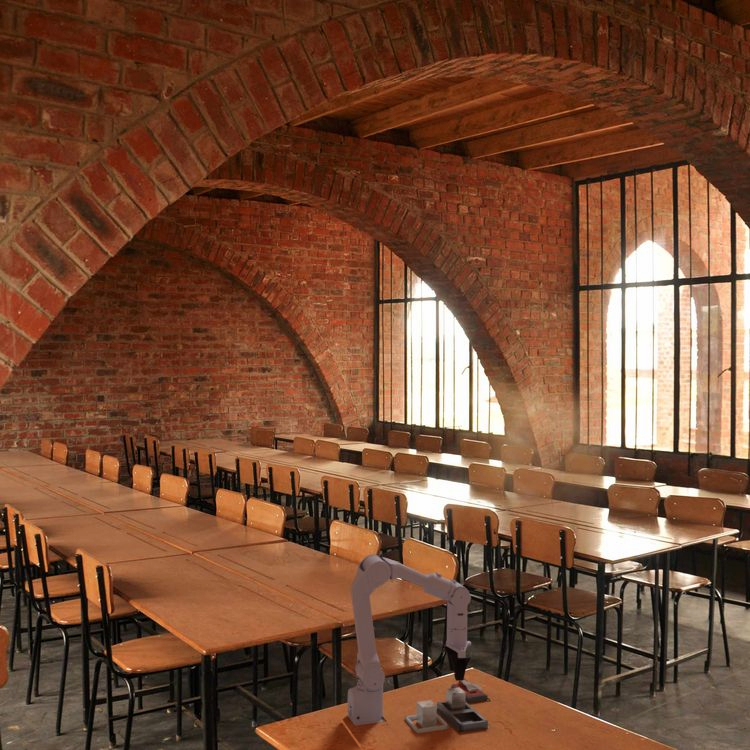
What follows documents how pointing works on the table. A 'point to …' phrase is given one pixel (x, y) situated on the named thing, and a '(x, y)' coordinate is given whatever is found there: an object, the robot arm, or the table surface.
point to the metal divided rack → (463, 718)
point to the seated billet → (455, 699)
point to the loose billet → (426, 714)
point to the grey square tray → (444, 726)
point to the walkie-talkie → (471, 691)
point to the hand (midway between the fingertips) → (456, 675)
